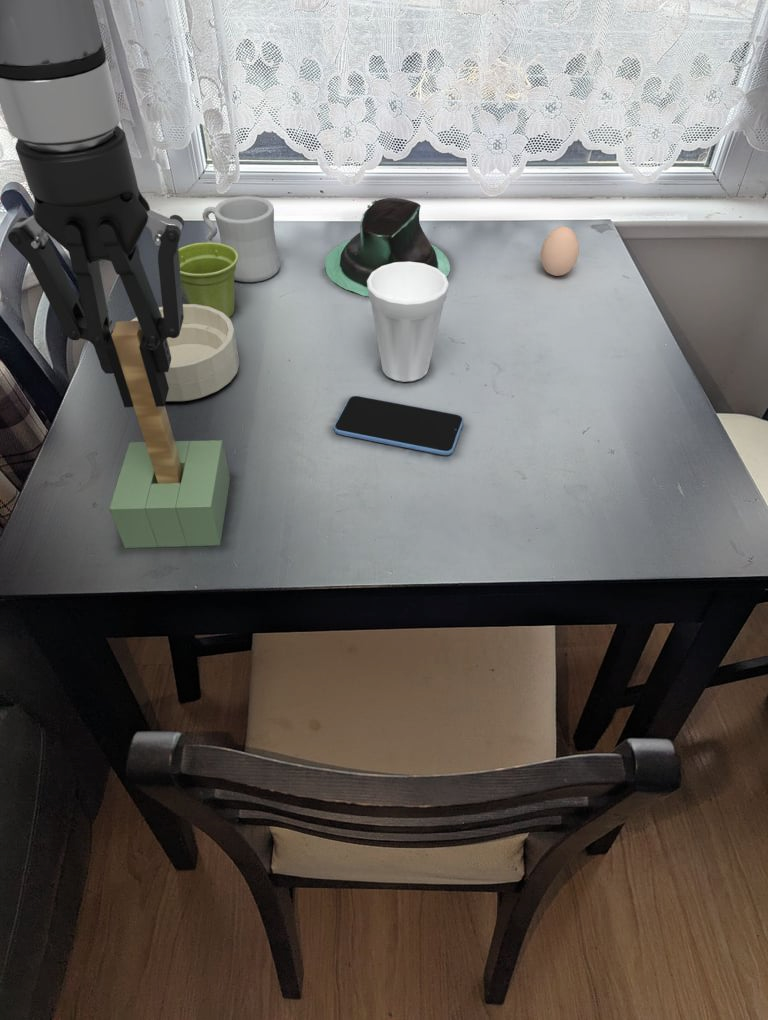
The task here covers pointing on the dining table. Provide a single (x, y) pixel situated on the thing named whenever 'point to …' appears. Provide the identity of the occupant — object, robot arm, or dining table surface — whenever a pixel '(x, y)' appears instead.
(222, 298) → the plant pot
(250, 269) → the mug
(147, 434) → the stirring stick
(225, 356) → the bowl
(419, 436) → the smartphone
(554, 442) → the dining table surface
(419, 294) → the cup
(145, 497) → the holder
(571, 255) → the egg
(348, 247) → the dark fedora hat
